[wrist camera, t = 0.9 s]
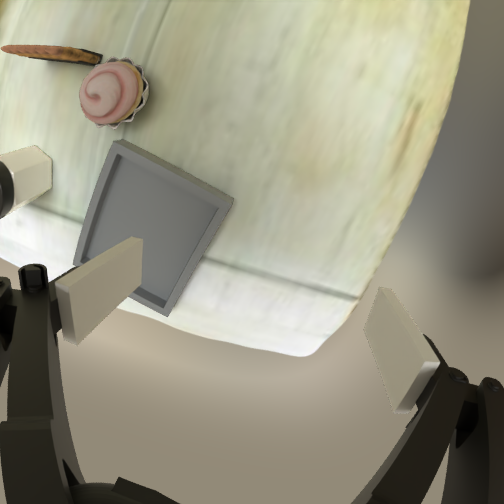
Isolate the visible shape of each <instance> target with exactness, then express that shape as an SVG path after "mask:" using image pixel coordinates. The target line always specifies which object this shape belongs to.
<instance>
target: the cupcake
mask: <svg viewBox="0 0 504 504" xmlns="http://www.w3.org/2000/svg"><path fill="white" fill-rule="evenodd" d="M148 96H149V84H148V82H147V80H146V78H145V77H144V71H143V67H141V66H140V65H134V63H133V61H132V59H130V58H126V57H125V58H123V59H121V60H119V59H117V58H116V57H111V58H109V59H108V60H107V61H106V63H104V64H98V65H95V67H94V69H93V70H92V71H91V72H90V73H89V74H88V75H87V76H86V77H85V78H84V80H83V83H82V85H81V88H80V92H79V98H80V102H81V107H82V110H83V112H84V114H85V117H86V118H88V119H89V120H91V121H93V122H94V123H95V124H96V126H97V128H100V127H103V126H105V125H108V126H109V127H111V128H112V129H116V128H117V127H118V126H119V125H120V124H121V122H131V121H132V120H133V119H134V116H135V114H136V113H137V112H138V111H140V110H141V109H142V108H143V107H144V105H145V103H146V101H147V99H148Z"/></svg>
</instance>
